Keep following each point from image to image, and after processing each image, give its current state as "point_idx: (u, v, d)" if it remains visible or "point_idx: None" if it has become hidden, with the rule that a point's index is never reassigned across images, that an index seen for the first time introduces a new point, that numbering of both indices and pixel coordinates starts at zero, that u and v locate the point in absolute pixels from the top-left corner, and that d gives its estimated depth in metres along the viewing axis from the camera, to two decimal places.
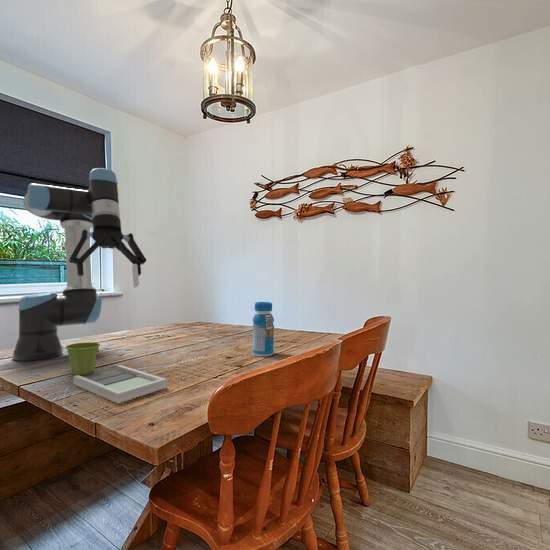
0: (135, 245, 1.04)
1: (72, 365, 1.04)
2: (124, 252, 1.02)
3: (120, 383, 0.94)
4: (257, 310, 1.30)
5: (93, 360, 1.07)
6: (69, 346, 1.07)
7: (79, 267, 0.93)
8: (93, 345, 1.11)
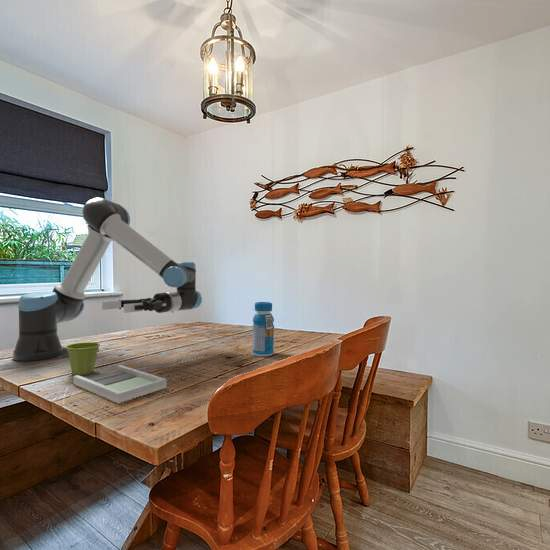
0: None
1: (72, 365, 1.04)
2: None
3: (120, 383, 0.94)
4: (257, 310, 1.30)
5: (93, 360, 1.07)
6: (69, 346, 1.07)
7: None
8: (93, 345, 1.11)
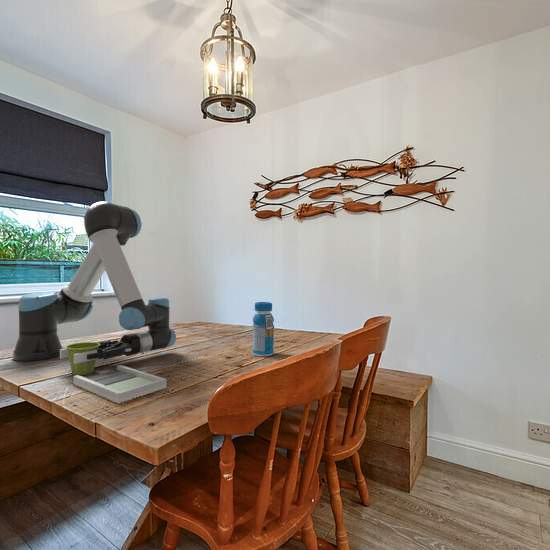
0: None
1: (72, 365, 1.04)
2: None
3: (120, 383, 0.94)
4: (257, 310, 1.30)
5: (93, 360, 1.07)
6: (69, 346, 1.07)
7: None
8: (93, 345, 1.11)
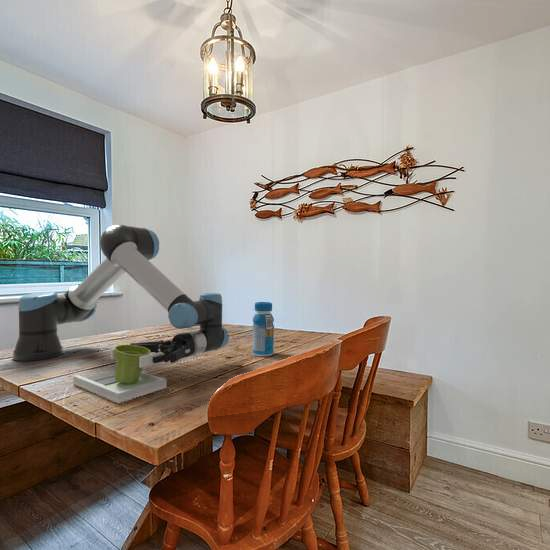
0: None
1: (118, 370, 0.92)
2: (150, 349, 1.02)
3: (120, 383, 0.94)
4: (257, 310, 1.30)
5: (141, 368, 0.94)
6: (117, 347, 0.95)
7: None
8: (142, 350, 0.99)
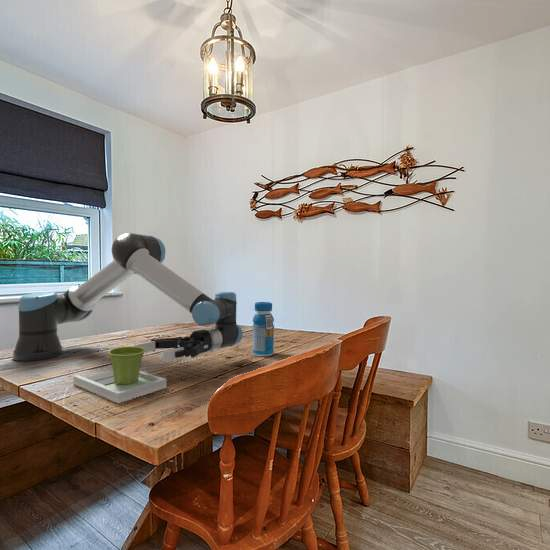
0: None
1: (115, 372, 0.92)
2: (170, 345, 1.08)
3: None
4: (257, 310, 1.30)
5: (137, 368, 0.94)
6: (112, 351, 0.95)
7: None
8: (138, 350, 0.99)
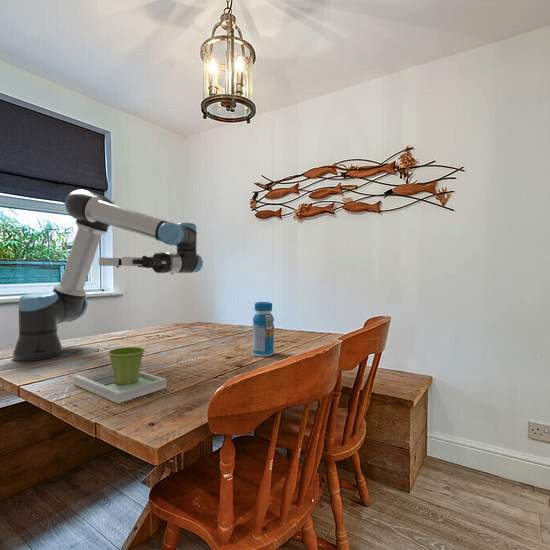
0: None
1: (115, 372, 0.92)
2: None
3: None
4: (257, 310, 1.30)
5: (137, 368, 0.94)
6: (112, 351, 0.96)
7: (139, 264, 1.09)
8: (138, 350, 0.99)
